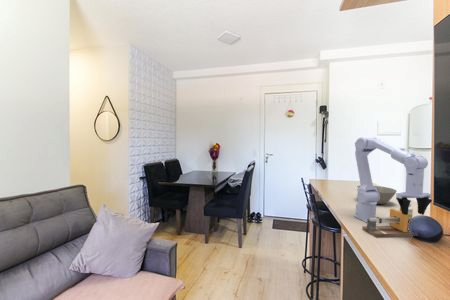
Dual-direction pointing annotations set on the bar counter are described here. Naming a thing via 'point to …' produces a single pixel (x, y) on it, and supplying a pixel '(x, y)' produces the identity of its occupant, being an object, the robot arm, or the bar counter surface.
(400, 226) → the collar
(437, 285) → the bar counter surface
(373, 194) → the robot arm
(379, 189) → the ceramic bowl
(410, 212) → the supplement bottle
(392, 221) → the pipe stand
